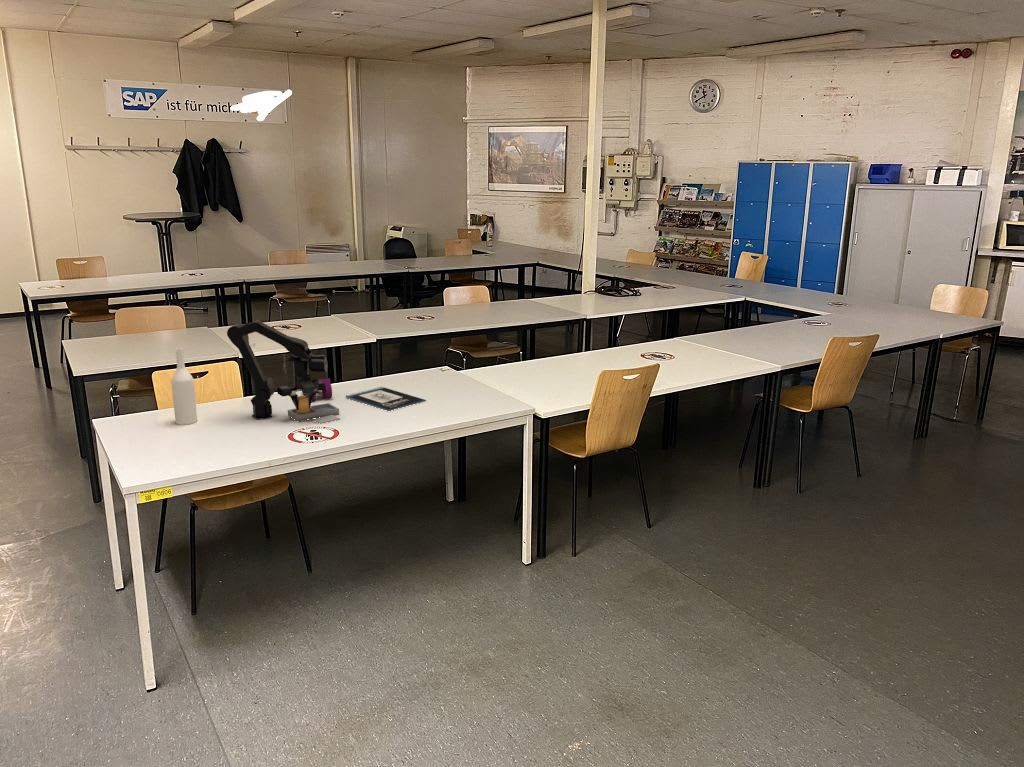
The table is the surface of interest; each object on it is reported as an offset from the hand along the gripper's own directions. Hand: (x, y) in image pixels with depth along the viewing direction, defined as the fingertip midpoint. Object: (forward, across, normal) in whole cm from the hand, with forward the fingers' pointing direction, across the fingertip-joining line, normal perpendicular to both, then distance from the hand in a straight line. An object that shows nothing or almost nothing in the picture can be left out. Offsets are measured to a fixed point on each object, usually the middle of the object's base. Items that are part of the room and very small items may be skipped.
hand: (303, 408), depth 311 cm
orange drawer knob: (+1, 0, 0) cm, 1 cm away
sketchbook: (+4, +39, +4) cm, 40 cm away
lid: (+4, +6, -9) cm, 12 cm away
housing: (+4, +4, 0) cm, 6 cm away
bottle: (+4, -41, +20) cm, 45 cm away
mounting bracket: (+4, +16, +26) cm, 31 cm away
